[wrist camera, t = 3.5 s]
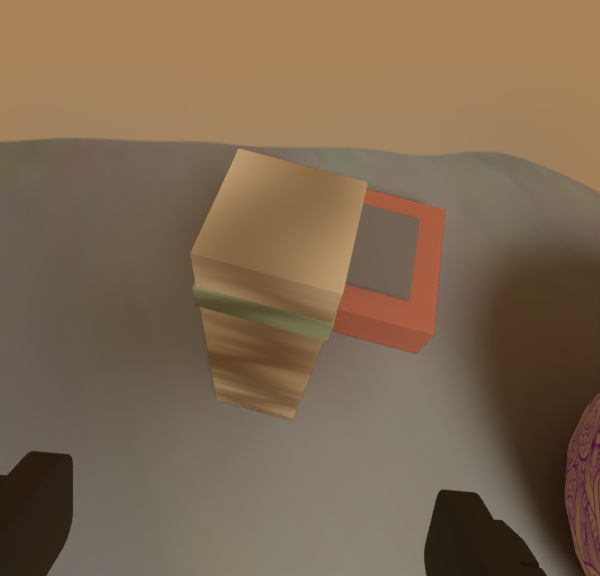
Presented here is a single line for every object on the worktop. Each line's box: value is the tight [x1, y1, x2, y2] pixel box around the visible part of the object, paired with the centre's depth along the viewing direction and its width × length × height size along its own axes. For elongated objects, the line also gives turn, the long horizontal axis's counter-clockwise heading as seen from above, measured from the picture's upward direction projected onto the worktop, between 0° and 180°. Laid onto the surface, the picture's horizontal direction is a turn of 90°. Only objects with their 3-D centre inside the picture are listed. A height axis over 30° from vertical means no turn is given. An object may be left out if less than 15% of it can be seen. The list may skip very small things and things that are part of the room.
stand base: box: [332, 189, 445, 354], centre depth 29 cm, size 10×10×3 cm
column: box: [190, 149, 368, 421], centre depth 20 cm, size 5×5×15 cm
